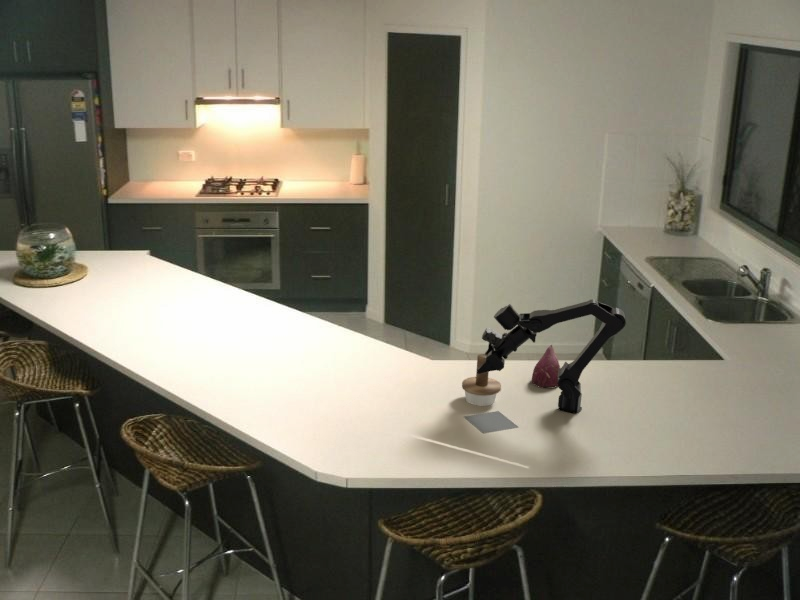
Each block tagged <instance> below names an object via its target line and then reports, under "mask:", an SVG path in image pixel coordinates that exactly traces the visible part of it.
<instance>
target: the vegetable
mask: <svg viewBox="0 0 800 600" xmlns="http://www.w3.org/2000/svg"><path fill="white" fill-rule="evenodd" d="M560 368H561V366H560V363H559V360H558V357H557V355H556V352H555V347H554V346H553V344H551V345H549V346H548V347H546V350H545V352H544V353H543V355H542V357H540V359H539V360H538V361H537V363H536V364H535V366H534V367H533V371H532V375H531V382H532V385H534V384H535V385H534V386H536V385H537V386H536V387H538V386H539V387H538V388H541V387H555V386H558V370H559V369H560ZM555 388H556V387H555Z"/></svg>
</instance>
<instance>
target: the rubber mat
mask: <svg viewBox="0 0 800 600" xmlns="http://www.w3.org/2000/svg"><path fill="white" fill-rule="evenodd" d="M463 418H464V419H465V420H467V422H469V423H470V424H471V425H473V427H475V428H476V429H477V430H478V431H479V432H480V433H481V434H487V433H494V432H499V431H500V432H501V431H505V430H511V429H518V428H519V425H517V424H516V423H514V422H513V421H512V420H511V419H509V418H508V417H507V416H505V415H504V414H503V413H502V412H501V411H500V410H496V411H490V412H483V413H478V414H477V413H476V414H471V415H466V416H463Z"/></svg>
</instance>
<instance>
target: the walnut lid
mask: <svg viewBox="0 0 800 600" xmlns="http://www.w3.org/2000/svg"><path fill="white" fill-rule="evenodd" d="M486 356H487V355H486V354H485V353H480V354H478V355H477V358H476V359H477V360H476V371H477V370H478V369H479V368H480V367H481V365H482V364H483V363H484V362H485V361H486ZM489 372H490V371H489ZM489 372H485V373H480V374H478V373H477V372H476V374H475V375H476V376H471V377H467V378H465V379H463V381H462V382H461V388H462V390H463V391H464V392H465V391H466V392H468V393H471V394H475V395H493V394H496V393H497V394H498V393H500V392H501V390H502V383H500V381H498V380H497V379H494V378H491V377H489ZM497 394H496V395H497Z"/></svg>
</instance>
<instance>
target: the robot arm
mask: <svg viewBox="0 0 800 600" xmlns="http://www.w3.org/2000/svg"><path fill="white" fill-rule="evenodd" d="M591 315H592V316H593V317H595V318H596V319H598V320H599V321H600V322H601V325H600V327H599V329H598V330H597V331H596V333H595V334H594V335H593V337H592V338H591V339H590V340H589V341H588V343H587V344H586V345H585V346H584V348H583V349H582V350H581V351H580V353H578V355H577V356H576V357H575V359H574V360H573V361H572V362H570V363H568V362H567V361H565V362H564V363H563V365H562V366H561V367H560V369H559V370H558V387H557V388H558V389H560V391H561V392H560V395H558V402H557V410H559V412H565V413H568V414H573V415H577V413H578V414H579V413H580V412H581V411H582V409H583V408H582V406H581V404H582V403H581V402H582V395H583V394H582V386H581V382H580V381H579V379H580V377H581V375H582V373H583V372H584V370H585V369H586V368H587V366H588V365H589V364H590V363H591V361H592V360H593V359H594V358H595V356H597V354H598V353H599V352H600V350H601V349H602V348H603V347H604V345H605V344H606V343H607V342H608V340H610V339H611V338H613V337H614V336H616V335H617V334H619V333H620V332H621V331H622V330H623V329H624V328H625V327H626V324H627V321H626V315H625V312H624V311H623V310H622V309H621V308H619V307H612V306H610V305H608V304H605V303H602V302H600V301H598V300H596V299H589V300H587V301H584V302H579V303H576V304H572V305H567V306H564V307H561V308H556V309H541V310H540V309H538V310H533V311H531V312H528V313H526V312H525V313H518V312H517V311H516V310H515V309H514V307H513V305H512V304H511V303H510V304H509V303H508V305H505V306H503V307H501V308H500V309H499V310H498V311H496V313H495V314H494V315H493V318H494V320H496V322H497V323H498V324H499V325H500V326H501V327H502V328H503V330H507V331H508V332H504V333H502V334H501V333H499V332H498V331H496V330H494V329H493V328H490V327H486V328H485V329H484V331H483V333H482V336H481V339H482V340H483V341H484V342H488V348H487V350H486V351H485V352H484V354H486V355H487V356H486V361H485V362H484V363H483V364H482V365H481V367H480V368H479V369H478V370H477V369H476V372H477V373H478V374H480V373H485V372H493V371H499V372H501V371H502V370H503V369H504V368H505V365H506V364H505V361H506V359H508V357H509V355H510V354H512V353H513V352H514V353H515V352H517V351H518V348H520V347H521V346H522V345H523V344H524V343H526V342H527V341H529V340H531V341H532V343H536V337H537V333H542V332H544V331H546V330H548V329H550V328H551V327H553V326H555V325H557V324H560V323H563V322H568V321H571V320H575V319H579V318H583V317H586V316H591Z"/></svg>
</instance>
